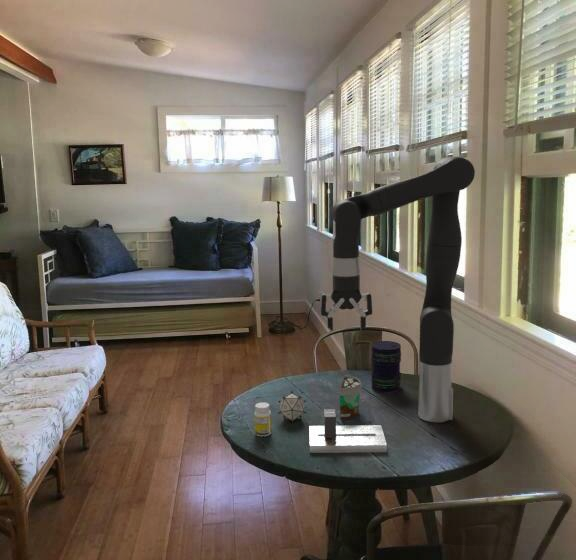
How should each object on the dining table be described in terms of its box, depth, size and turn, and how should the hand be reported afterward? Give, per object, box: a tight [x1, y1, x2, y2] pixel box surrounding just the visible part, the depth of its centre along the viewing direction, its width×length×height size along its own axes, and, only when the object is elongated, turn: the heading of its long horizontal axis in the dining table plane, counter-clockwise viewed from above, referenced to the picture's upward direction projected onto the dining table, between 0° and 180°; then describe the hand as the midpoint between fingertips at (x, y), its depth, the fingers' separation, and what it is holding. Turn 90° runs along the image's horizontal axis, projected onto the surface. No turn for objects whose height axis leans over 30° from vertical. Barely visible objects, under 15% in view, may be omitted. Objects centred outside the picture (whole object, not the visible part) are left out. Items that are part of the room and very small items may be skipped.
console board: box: [308, 424, 388, 454], centre depth 156 cm, size 20×12×2 cm, turn 88°
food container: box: [339, 374, 363, 420], centre depth 174 cm, size 12×6×10 cm, turn 168°
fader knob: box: [323, 408, 337, 438], centre depth 155 cm, size 3×5×6 cm, turn 178°
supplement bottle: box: [253, 402, 273, 437], centre depth 162 cm, size 5×5×8 cm
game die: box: [277, 390, 307, 424], centre depth 171 cm, size 9×8×10 cm
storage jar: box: [370, 340, 402, 394], centre depth 194 cm, size 10×10×15 cm
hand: (346, 329), depth 163 cm, fingers open, 8 cm apart
